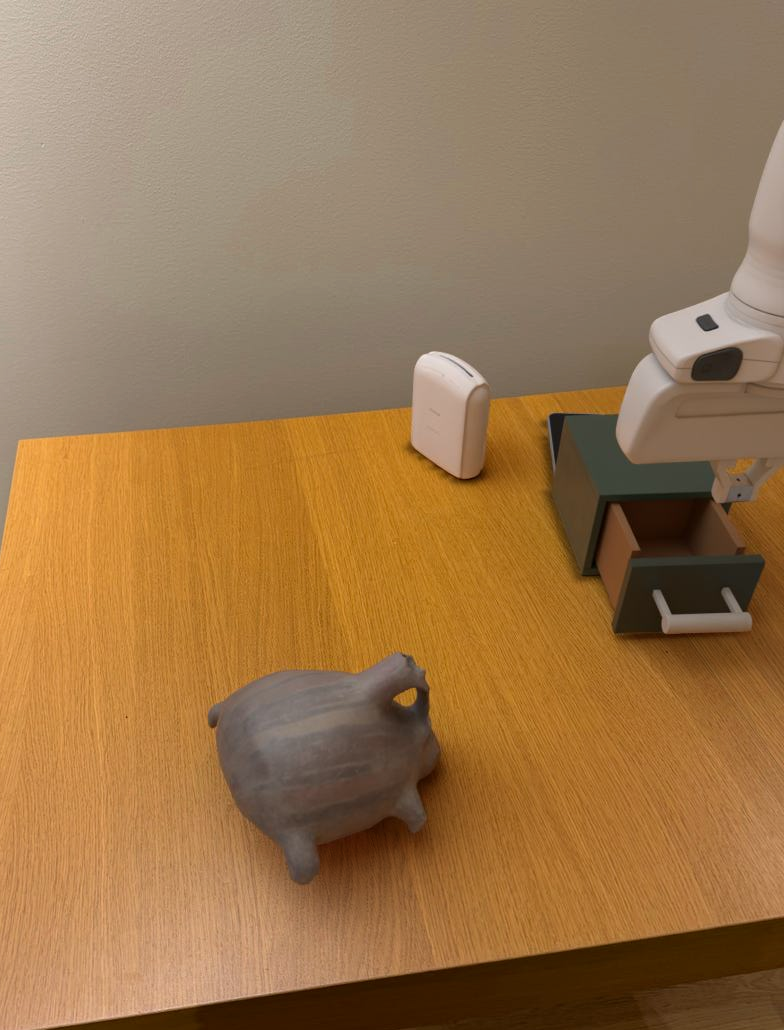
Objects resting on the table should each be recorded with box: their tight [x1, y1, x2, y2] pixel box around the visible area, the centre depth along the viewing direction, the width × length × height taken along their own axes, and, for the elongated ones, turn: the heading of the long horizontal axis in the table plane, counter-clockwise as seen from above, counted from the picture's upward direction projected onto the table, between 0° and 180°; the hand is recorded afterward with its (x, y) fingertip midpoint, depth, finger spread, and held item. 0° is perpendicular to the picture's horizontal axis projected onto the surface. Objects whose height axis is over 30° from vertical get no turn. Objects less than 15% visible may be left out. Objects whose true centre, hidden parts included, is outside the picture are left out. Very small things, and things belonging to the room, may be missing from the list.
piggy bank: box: [207, 651, 442, 886], centre depth 69 cm, size 18×16×14 cm
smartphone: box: [546, 412, 604, 475], centre depth 107 cm, size 7×1×15 cm
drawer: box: [594, 498, 766, 635], centre depth 84 cm, size 18×11×8 cm, turn 1°
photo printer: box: [410, 351, 492, 480], centre depth 104 cm, size 10×4×12 cm, turn 32°
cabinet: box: [550, 413, 733, 576], centre depth 93 cm, size 15×13×10 cm
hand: (732, 498), depth 74 cm, fingers closed
